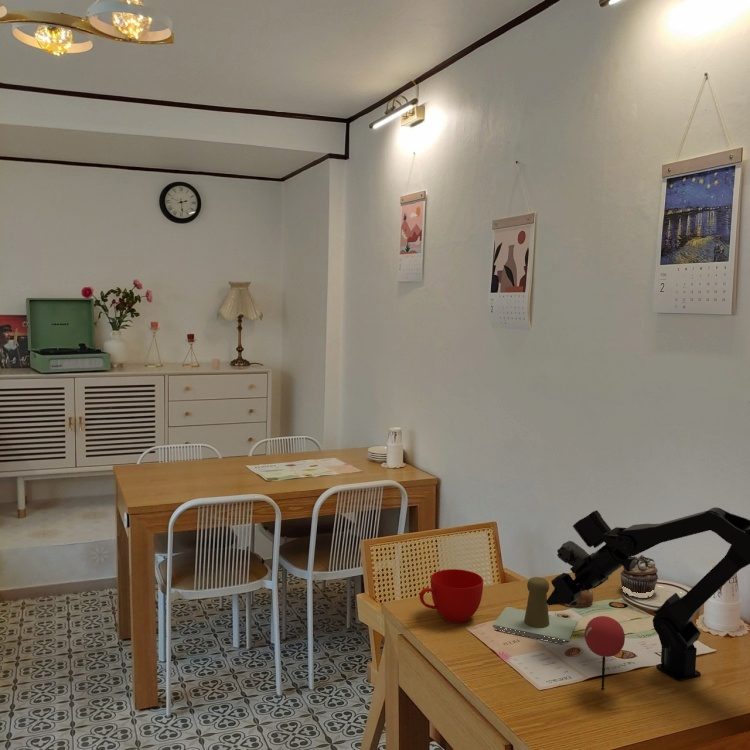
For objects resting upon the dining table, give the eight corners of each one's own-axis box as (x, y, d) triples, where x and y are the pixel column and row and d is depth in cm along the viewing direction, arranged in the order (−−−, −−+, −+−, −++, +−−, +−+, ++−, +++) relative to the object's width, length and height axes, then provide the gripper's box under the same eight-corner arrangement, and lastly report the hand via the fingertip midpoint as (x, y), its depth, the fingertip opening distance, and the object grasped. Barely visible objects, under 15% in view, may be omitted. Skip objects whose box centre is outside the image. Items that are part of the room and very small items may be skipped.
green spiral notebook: (578, 622, 184) (578, 620, 184) (568, 642, 173) (568, 640, 173) (506, 608, 191) (506, 606, 191) (492, 626, 181) (492, 624, 181)
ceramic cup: (406, 615, 187) (407, 576, 186) (462, 603, 194) (464, 566, 193) (433, 636, 175) (434, 594, 174) (492, 622, 183) (494, 583, 182)
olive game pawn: (552, 621, 183) (554, 577, 182) (544, 630, 178) (546, 585, 177) (528, 615, 186) (530, 572, 185) (520, 624, 181) (522, 580, 180)
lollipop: (591, 675, 158) (595, 607, 156) (627, 688, 153) (631, 617, 151) (576, 689, 152) (579, 618, 150) (613, 703, 147) (616, 629, 145)
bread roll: (552, 615, 196) (552, 594, 192) (555, 586, 205) (555, 565, 201) (591, 621, 194) (593, 599, 190) (593, 591, 202) (594, 569, 198)
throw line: (563, 641, 173) (563, 640, 173) (562, 644, 172) (562, 643, 172) (496, 627, 180) (496, 626, 180) (494, 630, 179) (494, 629, 179)
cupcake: (632, 583, 210) (633, 548, 209) (663, 594, 203) (665, 558, 202) (612, 591, 204) (613, 555, 203) (644, 602, 197) (645, 565, 196)
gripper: (597, 525, 180) (555, 559, 188) (560, 543, 166) (516, 579, 174) (628, 564, 175) (583, 597, 184) (592, 586, 162) (545, 621, 170)
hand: (557, 597), depth 178 cm, fingers open, 9 cm apart
